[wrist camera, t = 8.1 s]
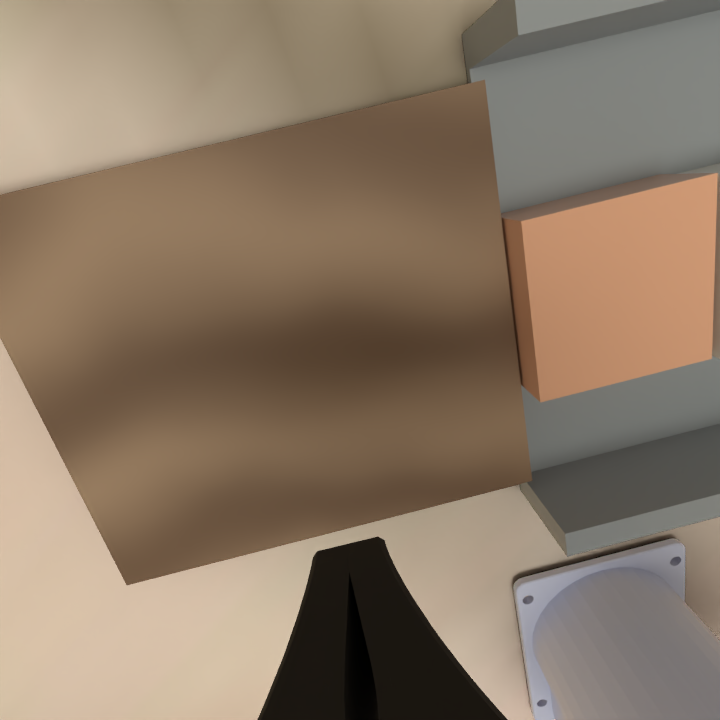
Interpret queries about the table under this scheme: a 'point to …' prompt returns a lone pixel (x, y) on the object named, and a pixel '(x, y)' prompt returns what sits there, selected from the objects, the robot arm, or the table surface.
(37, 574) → the table surface
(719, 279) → the cream tile
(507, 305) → the walnut board
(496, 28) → the grey box
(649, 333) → the terracotta tile
